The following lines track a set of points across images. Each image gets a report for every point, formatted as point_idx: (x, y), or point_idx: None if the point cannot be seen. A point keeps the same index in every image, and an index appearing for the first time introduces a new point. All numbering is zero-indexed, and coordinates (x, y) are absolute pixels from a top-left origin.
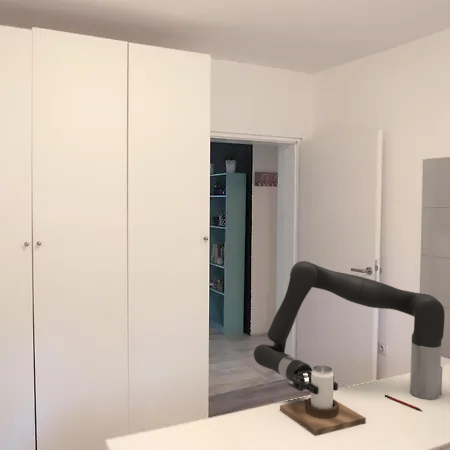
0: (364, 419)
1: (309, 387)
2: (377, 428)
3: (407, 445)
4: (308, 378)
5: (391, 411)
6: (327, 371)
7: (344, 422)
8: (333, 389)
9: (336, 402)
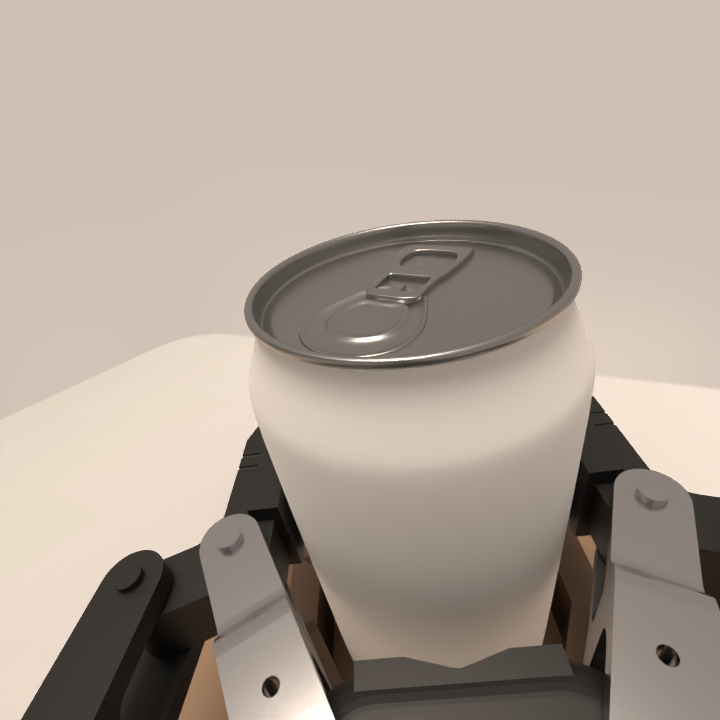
0: None
1: (619, 442)
2: (257, 425)
3: None
4: (585, 682)
5: (19, 540)
6: (374, 257)
7: None
8: None
9: (306, 551)
